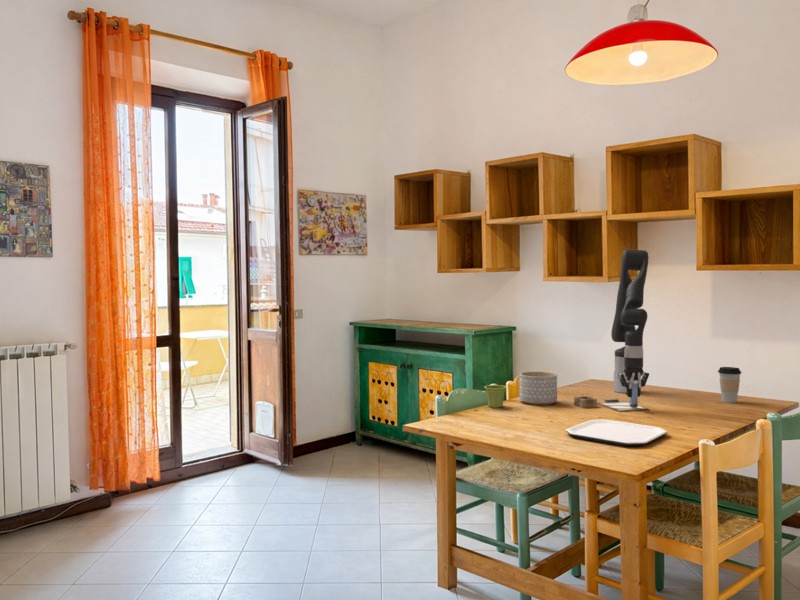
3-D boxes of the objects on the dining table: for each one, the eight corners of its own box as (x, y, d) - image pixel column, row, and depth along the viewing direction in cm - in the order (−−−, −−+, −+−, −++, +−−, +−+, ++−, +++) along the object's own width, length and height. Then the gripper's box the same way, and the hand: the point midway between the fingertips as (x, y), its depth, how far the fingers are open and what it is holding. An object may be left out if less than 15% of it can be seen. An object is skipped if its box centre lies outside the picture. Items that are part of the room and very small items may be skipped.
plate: (672, 435, 233) (672, 428, 233) (640, 451, 211) (640, 444, 211) (595, 423, 252) (595, 417, 252) (559, 437, 230) (559, 431, 230)
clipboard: (596, 403, 289) (596, 400, 289) (624, 402, 292) (624, 398, 292) (619, 411, 271) (619, 408, 271) (649, 410, 274) (649, 406, 274)
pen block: (574, 404, 287) (574, 396, 287) (588, 404, 288) (588, 396, 288) (582, 407, 280) (582, 399, 280) (596, 407, 282) (596, 398, 281)
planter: (561, 405, 285) (561, 376, 285) (523, 406, 285) (523, 377, 284) (552, 398, 301) (552, 371, 301) (516, 399, 301) (516, 371, 301)
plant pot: (482, 408, 281) (482, 387, 281) (486, 404, 290) (486, 384, 290) (504, 409, 278) (504, 388, 278) (507, 405, 287) (507, 385, 287)
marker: (627, 406, 277) (627, 379, 277) (634, 405, 278) (634, 379, 278) (632, 407, 274) (632, 380, 274) (639, 407, 275) (639, 380, 275)
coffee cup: (744, 404, 286) (744, 369, 286) (721, 403, 288) (721, 369, 287) (736, 400, 296) (737, 366, 295) (714, 399, 297) (714, 366, 297)
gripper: (643, 354, 281) (643, 394, 281) (613, 355, 278) (613, 396, 278) (653, 356, 274) (653, 397, 274) (623, 357, 270) (623, 399, 271)
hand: (633, 396), depth 276 cm, fingers closed on marker, 3 cm apart
